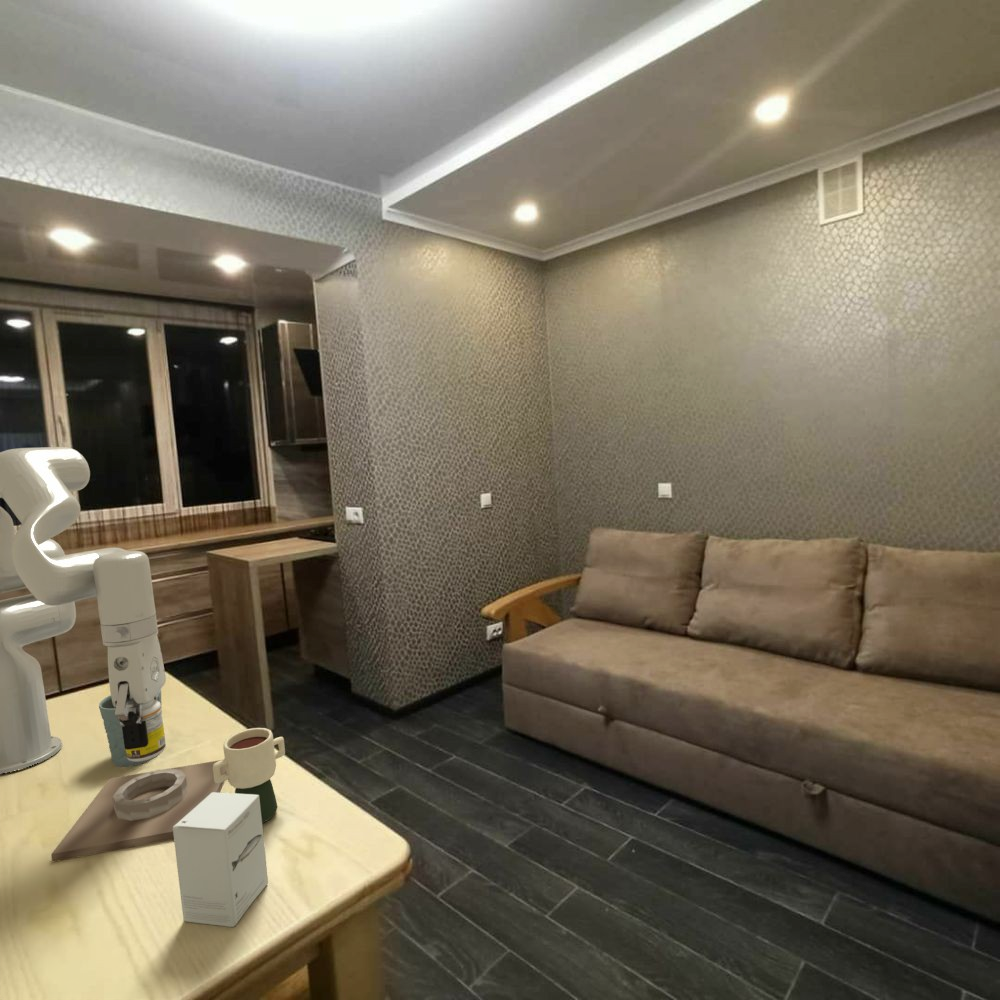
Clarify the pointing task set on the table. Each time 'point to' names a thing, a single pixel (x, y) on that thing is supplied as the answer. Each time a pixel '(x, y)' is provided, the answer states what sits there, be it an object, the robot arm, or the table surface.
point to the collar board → (138, 810)
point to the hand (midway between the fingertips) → (144, 736)
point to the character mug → (252, 766)
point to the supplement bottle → (149, 732)
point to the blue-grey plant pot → (116, 733)
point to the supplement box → (220, 858)
